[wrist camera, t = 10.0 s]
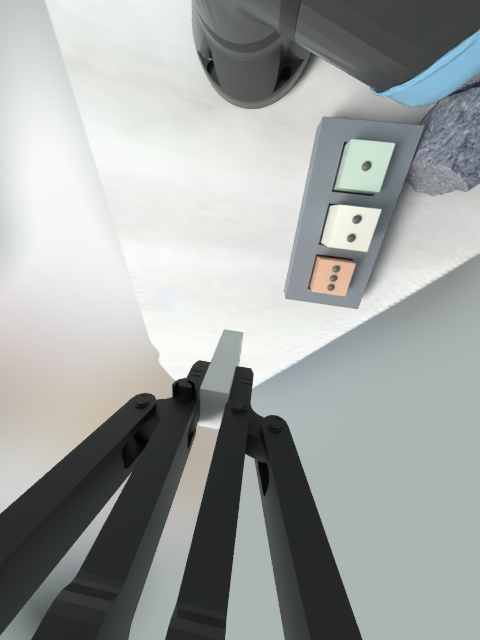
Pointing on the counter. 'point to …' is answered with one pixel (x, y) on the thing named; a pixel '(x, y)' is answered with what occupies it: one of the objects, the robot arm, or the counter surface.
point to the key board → (321, 197)
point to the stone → (449, 145)
